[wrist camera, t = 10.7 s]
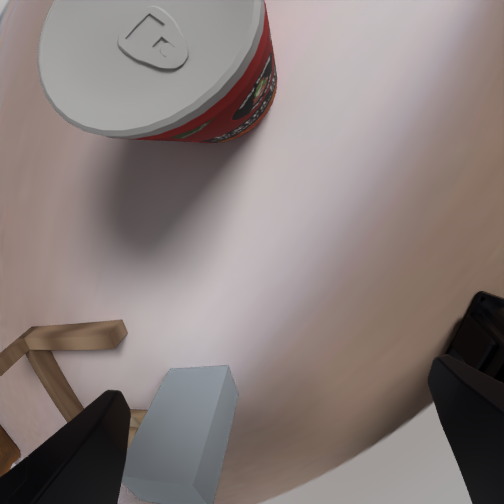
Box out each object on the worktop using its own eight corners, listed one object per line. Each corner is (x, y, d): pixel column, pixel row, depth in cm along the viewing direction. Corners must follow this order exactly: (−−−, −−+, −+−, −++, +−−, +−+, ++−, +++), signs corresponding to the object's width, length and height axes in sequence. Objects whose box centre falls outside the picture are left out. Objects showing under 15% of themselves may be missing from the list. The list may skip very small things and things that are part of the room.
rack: (122, 319, 23) (75, 371, 16) (177, 432, 27) (155, 487, 20) (31, 326, 25) (-12, 363, 18) (86, 422, 29) (59, 464, 22)
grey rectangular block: (228, 364, 23) (192, 485, 13) (238, 394, 24) (211, 510, 14) (169, 368, 24) (115, 473, 14) (182, 396, 25) (139, 499, 14)
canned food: (238, 166, 19) (173, 186, 8) (132, 110, 18) (6, 92, 8) (302, 61, 16) (316, -37, 6) (191, 12, 16) (110, -79, 5)
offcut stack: (146, 408, 26) (134, 430, 23) (160, 432, 27) (150, 453, 24) (91, 404, 27) (78, 422, 24) (106, 427, 28) (95, 445, 25)
